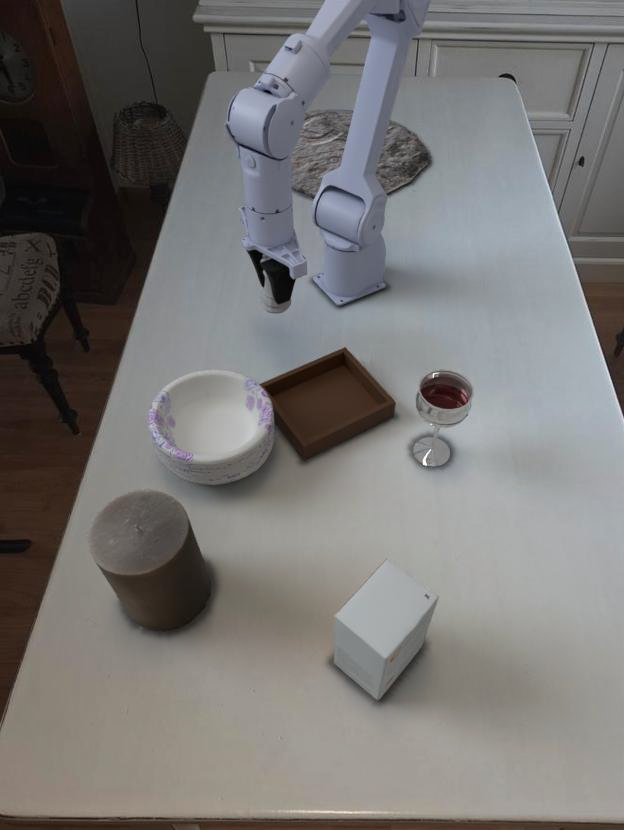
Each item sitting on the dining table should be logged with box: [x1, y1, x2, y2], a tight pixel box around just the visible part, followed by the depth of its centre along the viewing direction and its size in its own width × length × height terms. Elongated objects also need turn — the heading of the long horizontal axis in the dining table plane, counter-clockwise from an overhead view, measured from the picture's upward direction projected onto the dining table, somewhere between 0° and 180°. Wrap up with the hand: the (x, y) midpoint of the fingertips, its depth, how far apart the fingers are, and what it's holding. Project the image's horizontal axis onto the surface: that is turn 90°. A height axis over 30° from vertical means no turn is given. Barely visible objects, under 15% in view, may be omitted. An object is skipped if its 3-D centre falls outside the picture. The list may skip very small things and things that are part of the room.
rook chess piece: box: [259, 254, 292, 314], centre depth 86 cm, size 4×4×8 cm
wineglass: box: [412, 369, 475, 467], centre depth 79 cm, size 7×7×12 cm
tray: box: [258, 346, 397, 461], centre depth 87 cm, size 15×13×3 cm
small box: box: [333, 558, 440, 701], centre depth 63 cm, size 8×6×13 cm
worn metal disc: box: [290, 109, 430, 198], centre depth 127 cm, size 33×35×1 cm
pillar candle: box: [85, 488, 212, 632], centre depth 65 cm, size 10×10×15 cm
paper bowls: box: [147, 368, 276, 486], centre depth 80 cm, size 15×15×8 cm
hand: (275, 292), depth 87 cm, fingers closed on rook chess piece, 3 cm apart
